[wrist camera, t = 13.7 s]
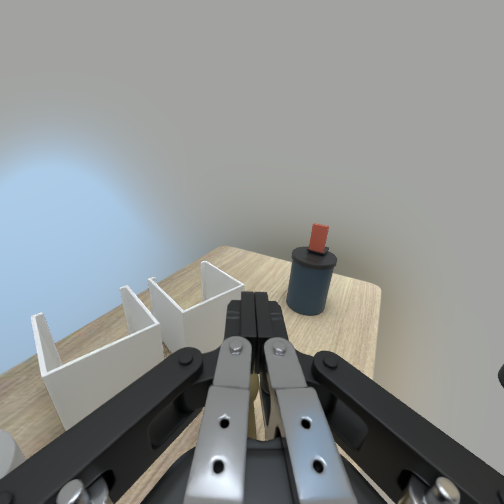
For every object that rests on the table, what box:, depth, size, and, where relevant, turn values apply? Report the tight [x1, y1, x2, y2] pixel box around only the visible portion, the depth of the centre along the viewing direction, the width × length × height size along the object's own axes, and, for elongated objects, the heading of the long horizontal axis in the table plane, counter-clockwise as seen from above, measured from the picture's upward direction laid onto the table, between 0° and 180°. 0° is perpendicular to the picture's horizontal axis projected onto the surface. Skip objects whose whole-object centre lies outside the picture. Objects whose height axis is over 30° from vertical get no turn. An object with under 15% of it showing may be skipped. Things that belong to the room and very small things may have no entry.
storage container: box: [31, 261, 244, 431], centre depth 35 cm, size 25×11×11 cm, turn 134°
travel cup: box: [286, 247, 337, 315], centre depth 50 cm, size 9×9×12 cm
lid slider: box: [307, 223, 329, 255], centre depth 48 cm, size 4×4×6 cm
